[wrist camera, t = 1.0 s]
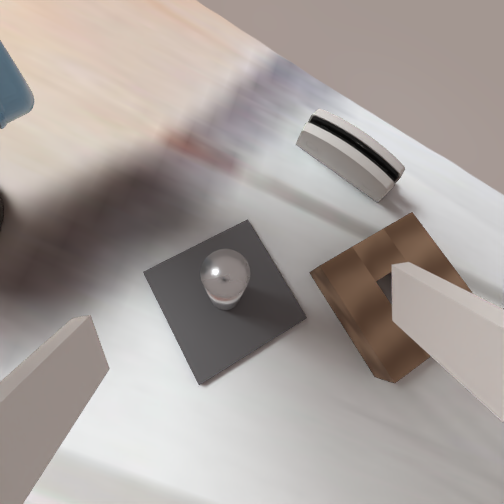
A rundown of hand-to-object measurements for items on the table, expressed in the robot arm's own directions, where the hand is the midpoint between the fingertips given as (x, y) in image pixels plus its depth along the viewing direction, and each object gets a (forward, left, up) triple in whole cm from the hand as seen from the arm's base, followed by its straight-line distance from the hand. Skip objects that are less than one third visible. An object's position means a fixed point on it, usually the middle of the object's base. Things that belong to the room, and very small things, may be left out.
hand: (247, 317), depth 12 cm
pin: (-4, +1, -24) cm, 25 cm away
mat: (-4, +1, -25) cm, 26 cm away
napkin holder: (-13, +27, -26) cm, 39 cm away
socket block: (+7, +21, -25) cm, 34 cm away
